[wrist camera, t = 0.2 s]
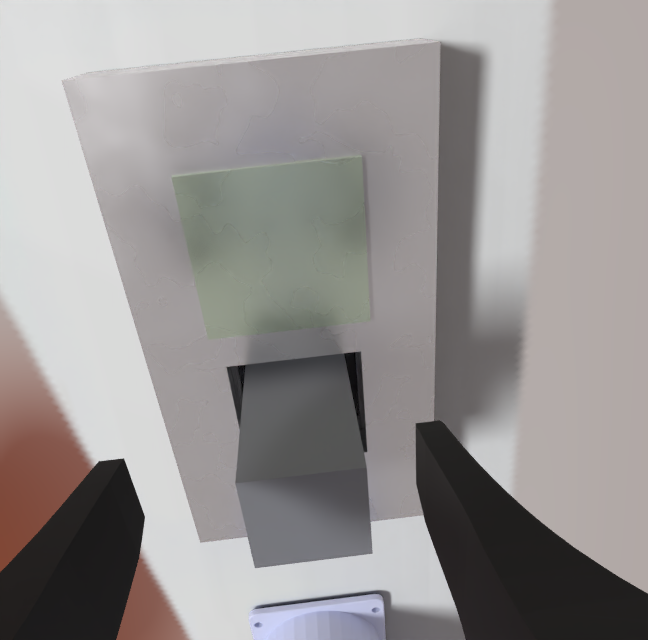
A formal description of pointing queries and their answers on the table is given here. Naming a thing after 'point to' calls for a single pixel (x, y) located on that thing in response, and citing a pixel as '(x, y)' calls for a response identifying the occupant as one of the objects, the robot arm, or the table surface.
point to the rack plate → (275, 241)
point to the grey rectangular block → (302, 463)
